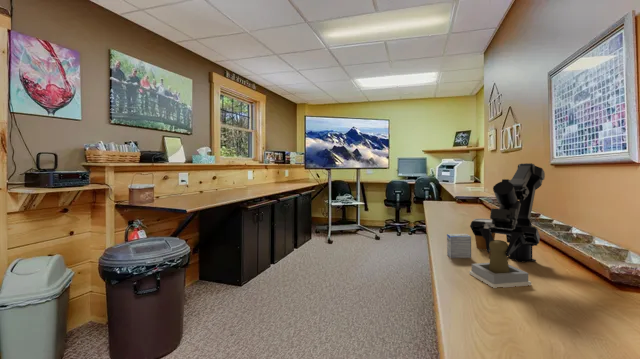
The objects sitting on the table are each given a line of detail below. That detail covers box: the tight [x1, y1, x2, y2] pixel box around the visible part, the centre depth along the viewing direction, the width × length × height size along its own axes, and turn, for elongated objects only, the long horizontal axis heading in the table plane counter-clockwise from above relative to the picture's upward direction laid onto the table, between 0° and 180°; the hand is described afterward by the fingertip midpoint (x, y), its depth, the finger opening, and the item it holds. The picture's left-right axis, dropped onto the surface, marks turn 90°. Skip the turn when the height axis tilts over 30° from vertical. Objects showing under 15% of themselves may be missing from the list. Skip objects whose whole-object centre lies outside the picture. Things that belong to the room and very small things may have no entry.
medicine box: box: [446, 233, 472, 259], centre depth 119 cm, size 8×4×9 cm, turn 84°
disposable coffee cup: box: [472, 218, 496, 251], centre depth 129 cm, size 10×10×12 cm
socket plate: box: [468, 262, 532, 289], centre depth 95 cm, size 12×12×4 cm
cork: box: [489, 239, 510, 274], centre depth 95 cm, size 6×6×11 cm
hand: (497, 253), depth 94 cm, fingers closed on cork, 5 cm apart
